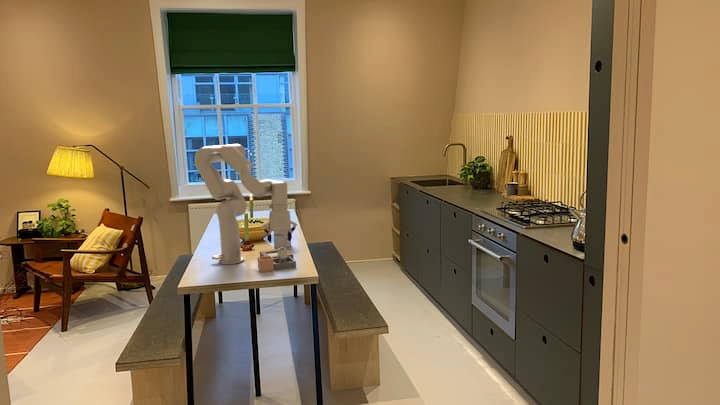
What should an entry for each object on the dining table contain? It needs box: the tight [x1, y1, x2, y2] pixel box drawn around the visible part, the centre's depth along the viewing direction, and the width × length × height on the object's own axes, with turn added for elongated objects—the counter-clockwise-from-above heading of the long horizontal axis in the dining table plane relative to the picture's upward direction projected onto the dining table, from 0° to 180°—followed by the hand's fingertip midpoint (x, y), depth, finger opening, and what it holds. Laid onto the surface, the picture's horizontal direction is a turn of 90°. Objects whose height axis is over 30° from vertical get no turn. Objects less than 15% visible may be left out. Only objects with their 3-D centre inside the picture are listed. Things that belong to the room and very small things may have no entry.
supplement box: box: [273, 230, 292, 249], centre depth 304 cm, size 7×7×13 cm
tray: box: [273, 256, 297, 271], centre depth 265 cm, size 11×11×3 cm
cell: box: [276, 247, 288, 263], centre depth 264 cm, size 4×4×9 cm
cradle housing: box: [259, 249, 295, 260], centre depth 279 cm, size 14×14×3 cm
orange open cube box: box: [257, 256, 275, 273], centre depth 258 cm, size 6×6×6 cm
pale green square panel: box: [267, 252, 278, 256], centre depth 279 cm, size 9×9×1 cm
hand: (279, 241), depth 263 cm, fingers open, 9 cm apart
